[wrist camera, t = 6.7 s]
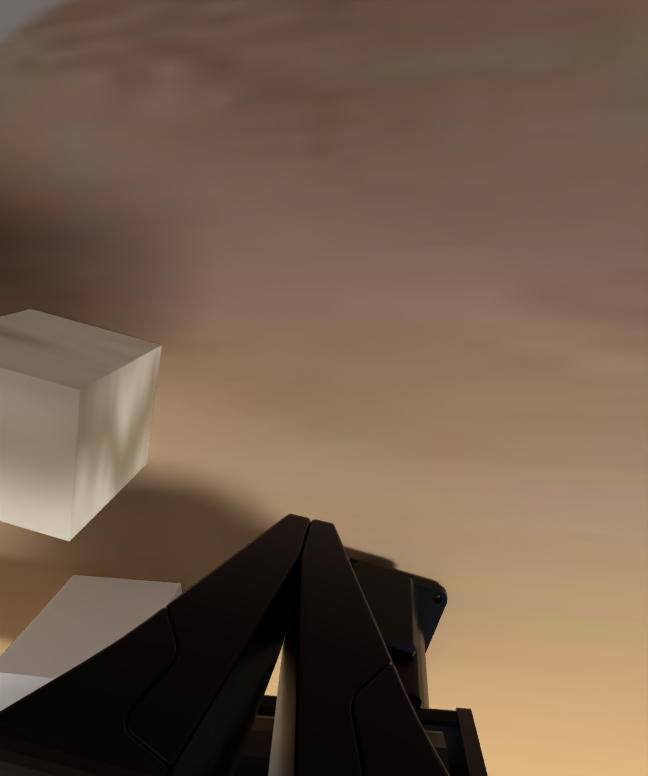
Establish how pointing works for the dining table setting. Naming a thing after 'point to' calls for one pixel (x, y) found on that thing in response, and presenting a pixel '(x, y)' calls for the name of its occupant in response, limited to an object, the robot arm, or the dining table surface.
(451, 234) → the dining table surface
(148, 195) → the dining table surface
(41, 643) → the off-white numbered cube
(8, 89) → the dining table surface
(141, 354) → the plain ash cube
